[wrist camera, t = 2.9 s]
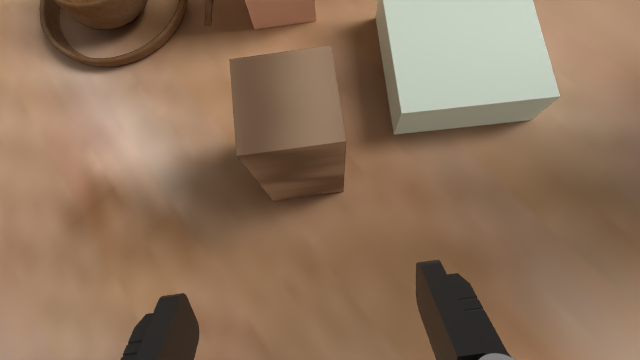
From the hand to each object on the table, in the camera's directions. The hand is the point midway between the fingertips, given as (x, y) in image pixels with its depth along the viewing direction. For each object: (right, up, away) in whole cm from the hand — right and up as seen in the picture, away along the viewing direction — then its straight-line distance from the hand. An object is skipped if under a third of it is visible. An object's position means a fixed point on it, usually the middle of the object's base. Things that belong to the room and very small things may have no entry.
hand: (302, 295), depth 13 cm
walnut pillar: (-1, +5, +14) cm, 15 cm away
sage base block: (+11, +13, +16) cm, 23 cm away
